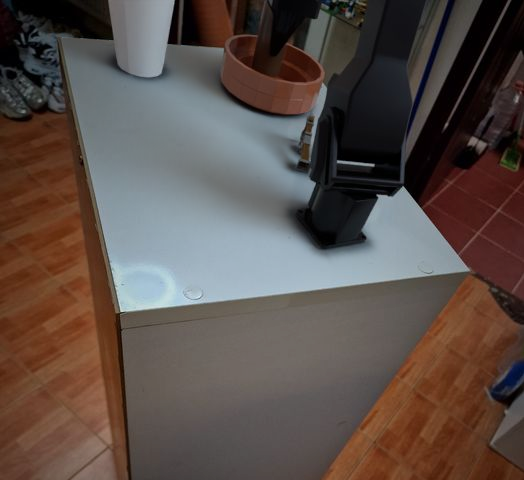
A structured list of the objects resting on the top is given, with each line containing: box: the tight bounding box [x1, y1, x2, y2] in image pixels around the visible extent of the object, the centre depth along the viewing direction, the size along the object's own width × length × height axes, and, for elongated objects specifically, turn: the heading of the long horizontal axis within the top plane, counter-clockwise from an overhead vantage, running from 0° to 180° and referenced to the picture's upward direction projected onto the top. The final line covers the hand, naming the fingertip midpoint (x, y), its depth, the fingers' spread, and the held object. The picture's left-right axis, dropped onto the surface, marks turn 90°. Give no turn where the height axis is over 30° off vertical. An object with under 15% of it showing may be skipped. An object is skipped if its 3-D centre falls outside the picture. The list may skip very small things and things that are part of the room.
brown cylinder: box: [251, 0, 288, 78], centre depth 64 cm, size 4×4×9 cm
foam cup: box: [107, 0, 176, 78], centre depth 58 cm, size 10×9×13 cm
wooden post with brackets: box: [295, 112, 316, 173], centre depth 58 cm, size 2×8×4 cm, turn 177°
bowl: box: [219, 34, 326, 115], centre depth 66 cm, size 15×15×5 cm
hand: (270, 48), depth 65 cm, fingers closed on brown cylinder, 4 cm apart
